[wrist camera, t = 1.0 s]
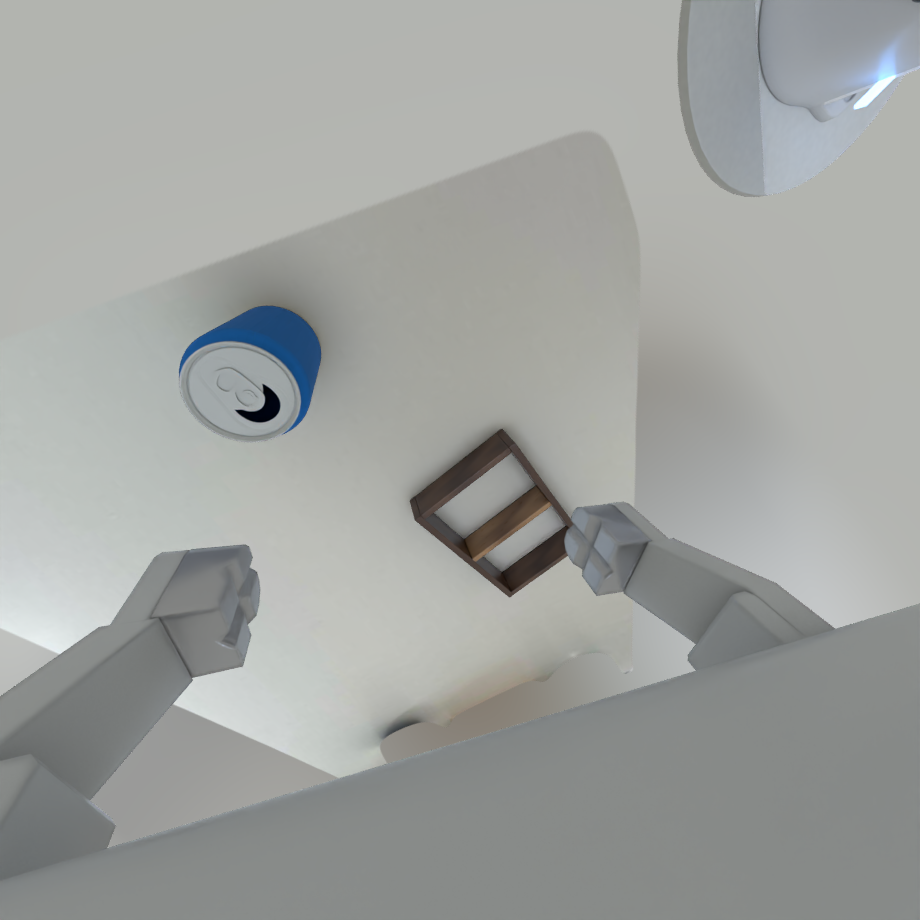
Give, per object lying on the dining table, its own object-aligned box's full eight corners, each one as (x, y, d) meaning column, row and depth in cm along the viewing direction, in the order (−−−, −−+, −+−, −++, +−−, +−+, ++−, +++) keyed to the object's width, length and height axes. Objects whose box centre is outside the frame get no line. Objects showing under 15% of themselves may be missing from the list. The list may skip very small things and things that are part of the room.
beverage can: (285, 399, 30) (255, 468, 20) (215, 342, 27) (137, 392, 17) (338, 351, 29) (334, 399, 20) (272, 285, 26) (226, 303, 16)
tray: (501, 428, 38) (514, 442, 35) (572, 525, 50) (587, 542, 47) (409, 500, 40) (414, 520, 37) (500, 578, 52) (509, 597, 49)
